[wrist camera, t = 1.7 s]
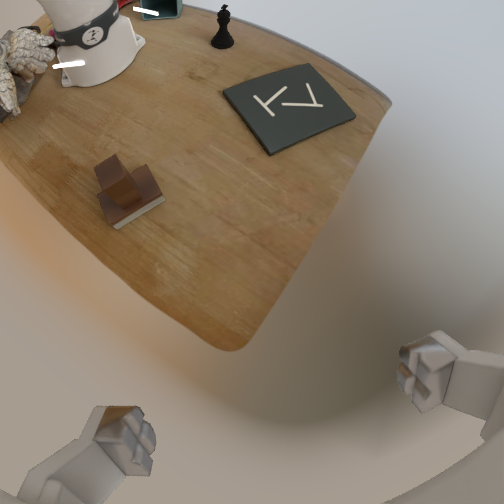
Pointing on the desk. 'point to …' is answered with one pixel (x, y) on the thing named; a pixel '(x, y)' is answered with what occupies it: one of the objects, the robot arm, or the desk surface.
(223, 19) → the chess piece
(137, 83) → the desk surface
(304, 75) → the chalkboard
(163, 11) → the flower pot
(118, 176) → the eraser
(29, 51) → the cherub figurine
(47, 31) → the donut
